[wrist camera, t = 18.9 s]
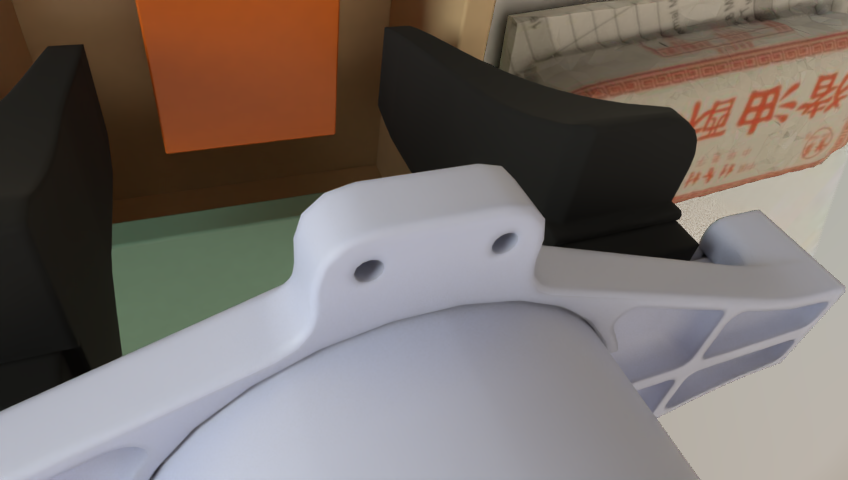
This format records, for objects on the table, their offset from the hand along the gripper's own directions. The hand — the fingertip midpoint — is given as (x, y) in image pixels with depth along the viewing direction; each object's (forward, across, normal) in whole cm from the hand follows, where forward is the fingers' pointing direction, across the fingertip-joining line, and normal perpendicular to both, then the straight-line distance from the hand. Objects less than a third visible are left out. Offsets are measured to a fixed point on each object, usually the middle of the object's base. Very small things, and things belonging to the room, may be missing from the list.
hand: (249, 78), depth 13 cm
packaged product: (+6, -19, +6) cm, 21 cm away
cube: (+4, 0, 0) cm, 4 cm away
